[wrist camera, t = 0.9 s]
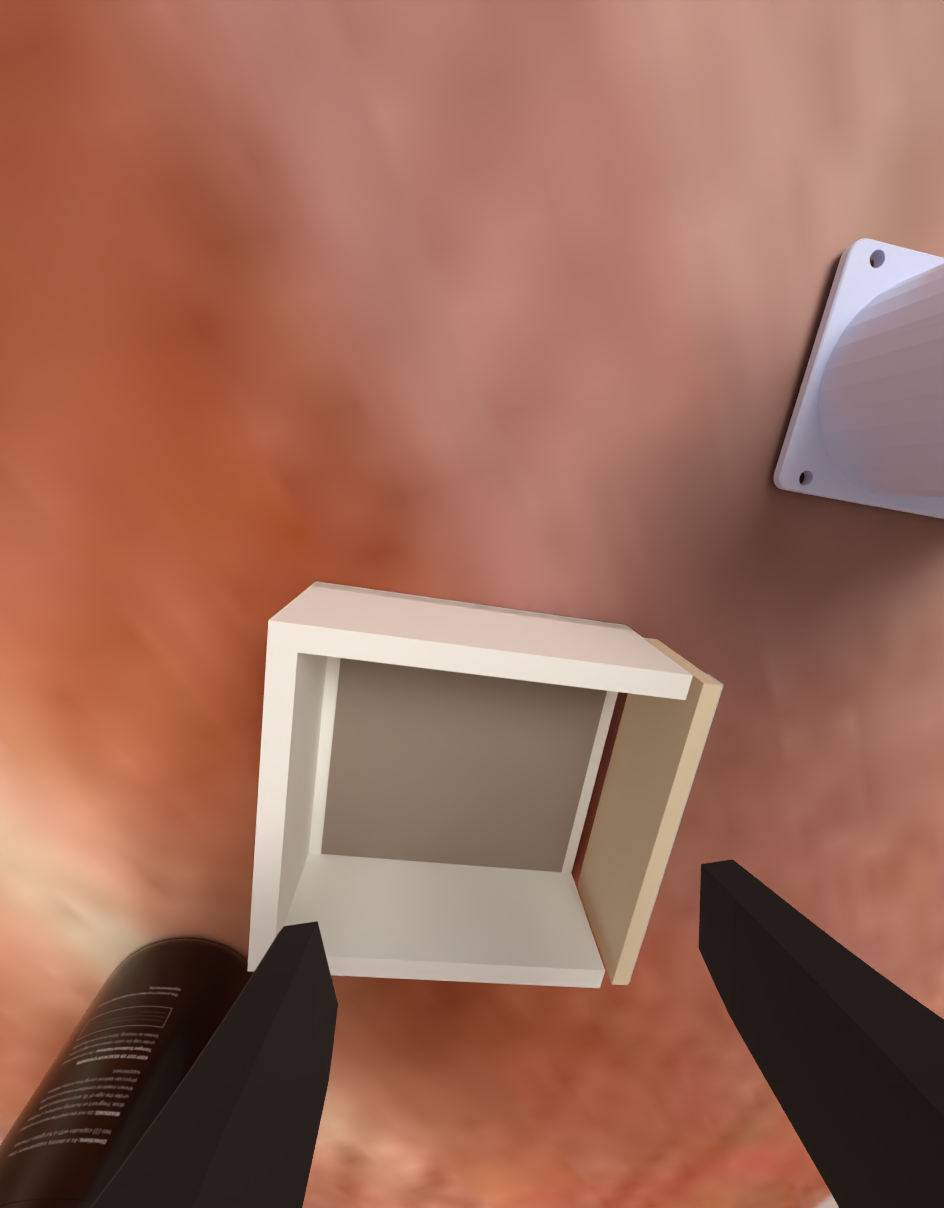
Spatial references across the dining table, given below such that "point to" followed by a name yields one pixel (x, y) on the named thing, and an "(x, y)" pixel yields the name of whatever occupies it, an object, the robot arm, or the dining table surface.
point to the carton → (436, 782)
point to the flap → (642, 812)
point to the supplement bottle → (118, 1072)
